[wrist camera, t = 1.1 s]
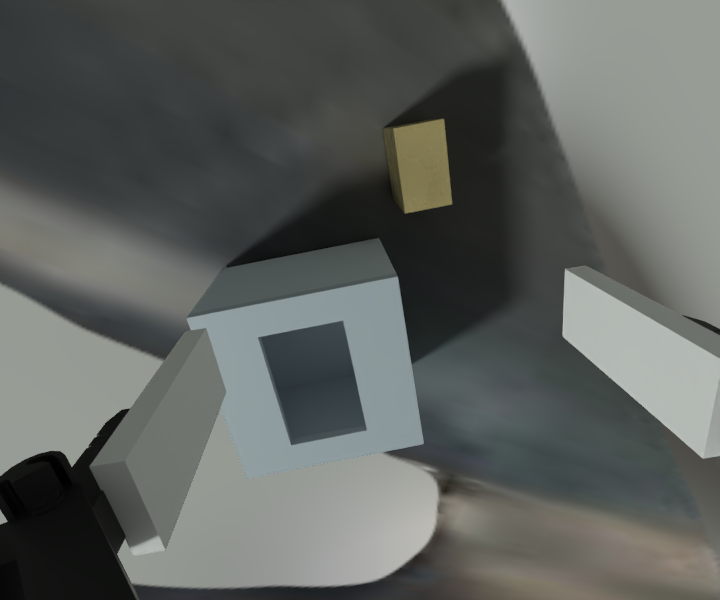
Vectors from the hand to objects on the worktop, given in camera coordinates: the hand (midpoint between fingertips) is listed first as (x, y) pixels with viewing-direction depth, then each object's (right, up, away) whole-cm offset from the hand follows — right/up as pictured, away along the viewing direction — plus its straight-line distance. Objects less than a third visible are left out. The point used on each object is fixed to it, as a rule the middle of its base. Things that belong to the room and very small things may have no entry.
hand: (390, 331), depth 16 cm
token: (+2, +11, +15) cm, 18 cm away
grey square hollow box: (-5, -1, +19) cm, 19 cm away
